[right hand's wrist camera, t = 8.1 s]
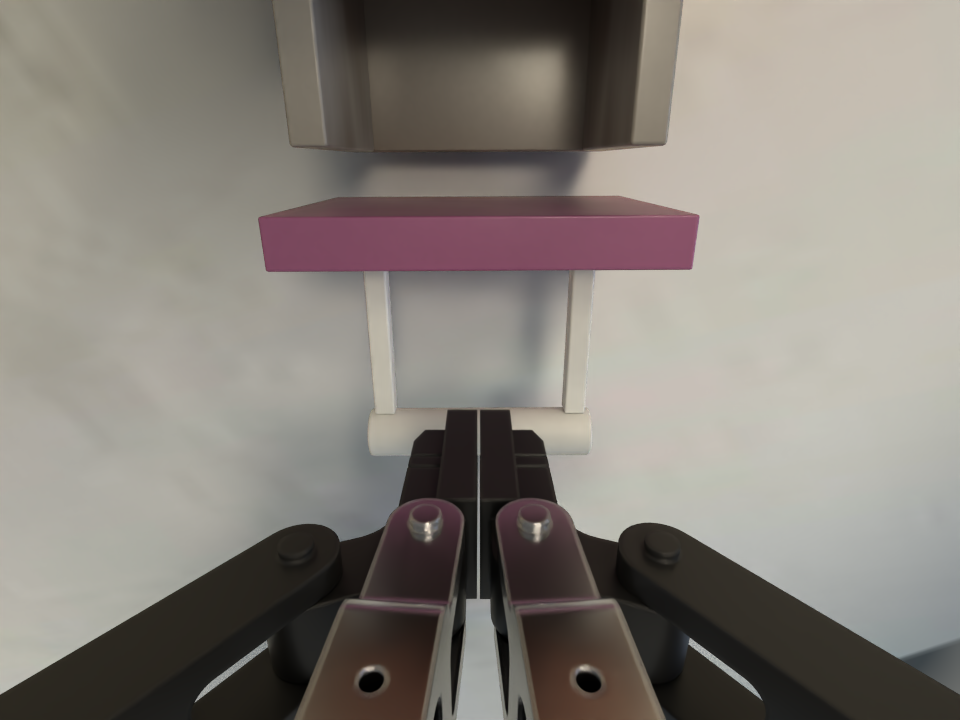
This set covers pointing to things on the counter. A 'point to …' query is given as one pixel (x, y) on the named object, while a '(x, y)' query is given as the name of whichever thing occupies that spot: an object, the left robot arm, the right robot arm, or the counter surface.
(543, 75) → the drawer
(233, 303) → the counter surface
